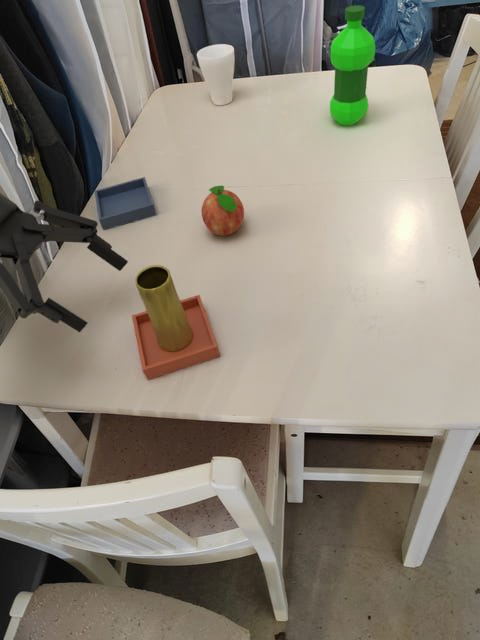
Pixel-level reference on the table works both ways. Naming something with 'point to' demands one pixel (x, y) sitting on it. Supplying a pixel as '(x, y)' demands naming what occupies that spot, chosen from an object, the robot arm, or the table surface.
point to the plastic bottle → (351, 68)
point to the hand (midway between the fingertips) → (105, 295)
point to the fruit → (222, 211)
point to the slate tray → (124, 203)
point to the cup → (218, 71)
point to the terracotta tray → (169, 361)
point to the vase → (164, 307)
